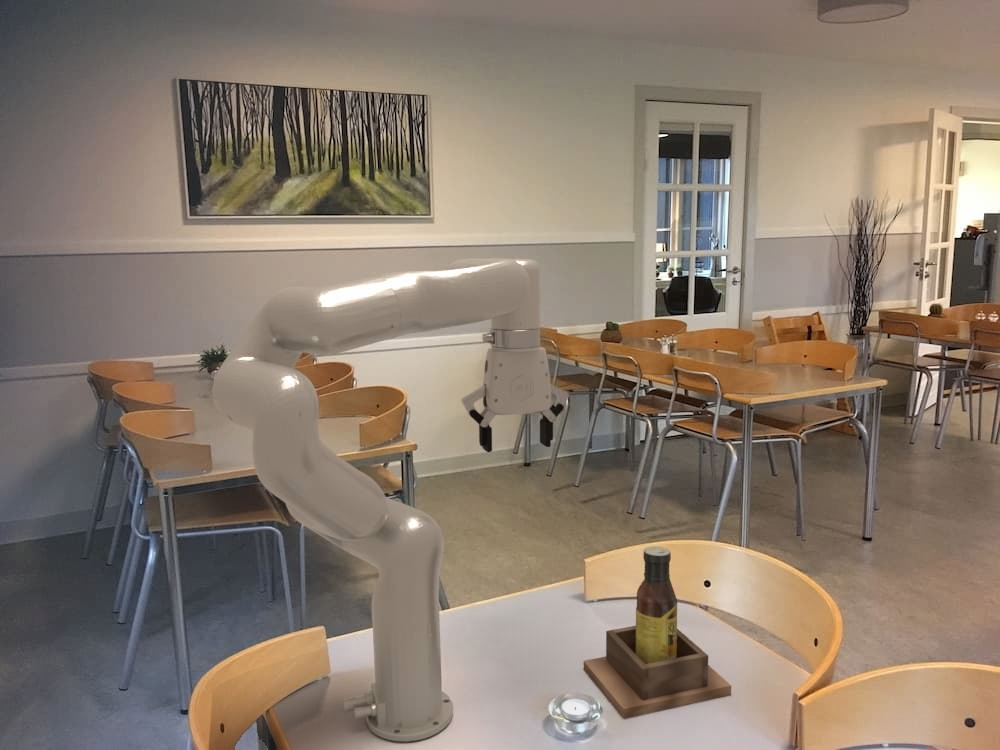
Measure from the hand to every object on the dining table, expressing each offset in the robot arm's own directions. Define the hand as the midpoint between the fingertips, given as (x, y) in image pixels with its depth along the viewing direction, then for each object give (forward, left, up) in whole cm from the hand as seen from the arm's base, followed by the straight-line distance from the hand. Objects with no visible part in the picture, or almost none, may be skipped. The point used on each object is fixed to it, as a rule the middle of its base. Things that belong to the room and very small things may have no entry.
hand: (516, 447), depth 123 cm
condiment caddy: (+18, -14, -36) cm, 42 cm away
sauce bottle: (+18, -13, -35) cm, 41 cm away
